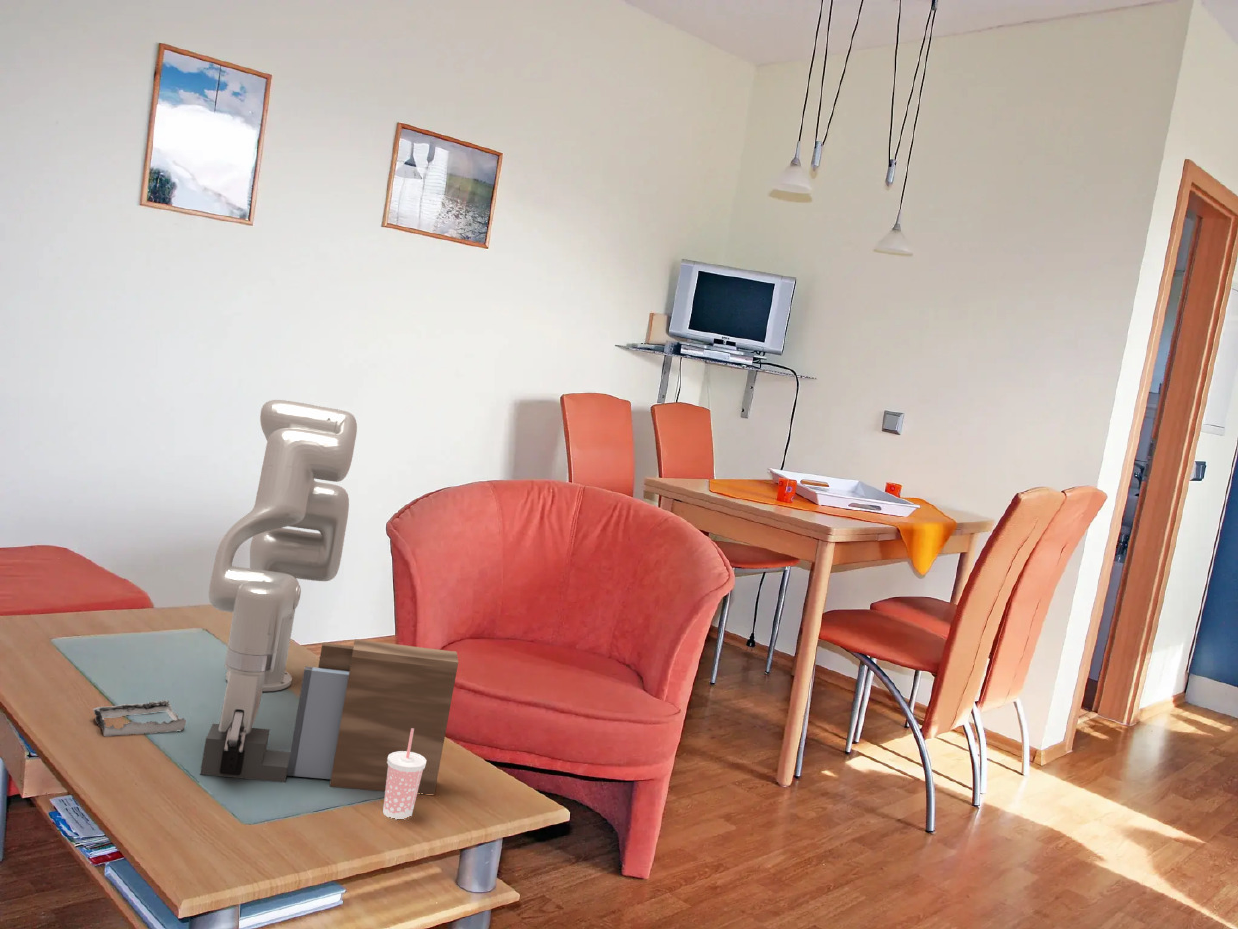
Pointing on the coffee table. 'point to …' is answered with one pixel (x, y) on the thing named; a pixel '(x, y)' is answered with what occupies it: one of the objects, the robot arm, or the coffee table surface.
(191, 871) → the coffee table surface
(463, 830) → the coffee table surface
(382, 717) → the door wall
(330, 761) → the sliding door
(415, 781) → the beverage cup
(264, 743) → the grey stepped block
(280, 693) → the coffee table surface
